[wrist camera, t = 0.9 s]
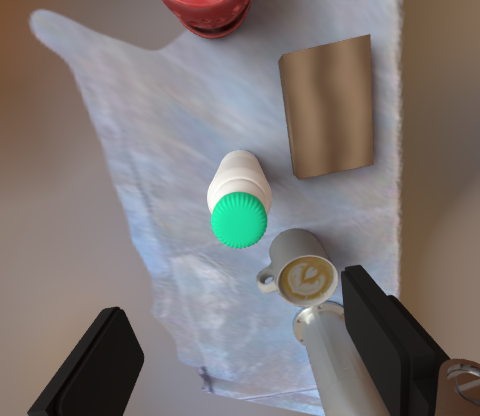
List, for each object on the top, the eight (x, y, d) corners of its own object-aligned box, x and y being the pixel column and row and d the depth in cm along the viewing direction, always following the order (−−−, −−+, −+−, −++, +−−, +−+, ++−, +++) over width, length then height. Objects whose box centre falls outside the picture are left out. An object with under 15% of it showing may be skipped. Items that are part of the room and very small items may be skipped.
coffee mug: (315, 223, 47) (334, 248, 37) (323, 266, 50) (342, 300, 40) (247, 239, 48) (248, 268, 38) (259, 280, 51) (263, 316, 41)
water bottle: (260, 188, 44) (282, 263, 21) (221, 189, 44) (199, 265, 21) (259, 148, 42) (284, 181, 18) (218, 150, 42) (191, 184, 18)
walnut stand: (356, 43, 37) (370, 34, 33) (361, 160, 43) (373, 164, 39) (278, 61, 38) (282, 54, 34) (293, 174, 43) (298, 179, 40)
